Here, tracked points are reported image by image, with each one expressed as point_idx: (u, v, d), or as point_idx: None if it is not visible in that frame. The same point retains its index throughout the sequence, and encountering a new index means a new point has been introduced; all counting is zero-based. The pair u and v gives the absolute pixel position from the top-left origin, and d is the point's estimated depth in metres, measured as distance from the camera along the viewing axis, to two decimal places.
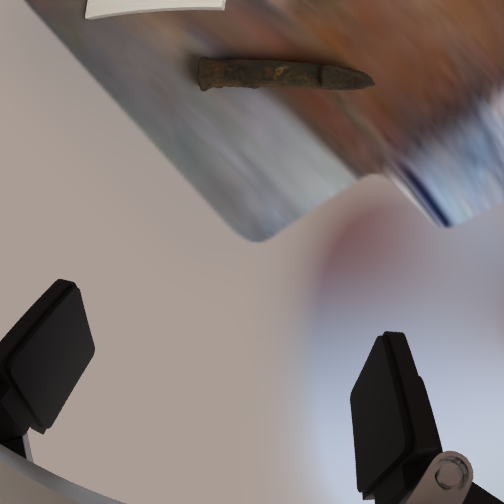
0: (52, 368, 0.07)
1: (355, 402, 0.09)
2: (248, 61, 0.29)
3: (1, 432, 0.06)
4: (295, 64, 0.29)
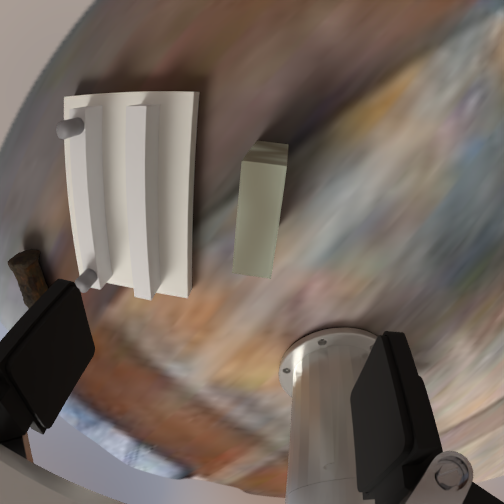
0: (52, 368, 0.07)
1: (355, 402, 0.09)
2: None
3: (1, 432, 0.06)
4: None
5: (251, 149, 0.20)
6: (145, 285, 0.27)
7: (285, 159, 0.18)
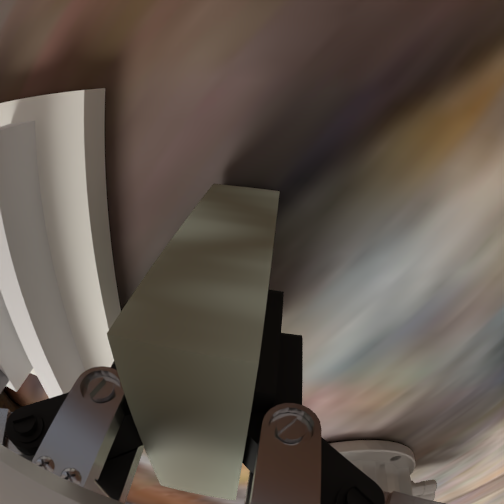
0: None
1: None
2: None
3: (111, 445, 0.06)
4: None
5: (178, 233, 0.08)
6: None
7: (261, 290, 0.06)
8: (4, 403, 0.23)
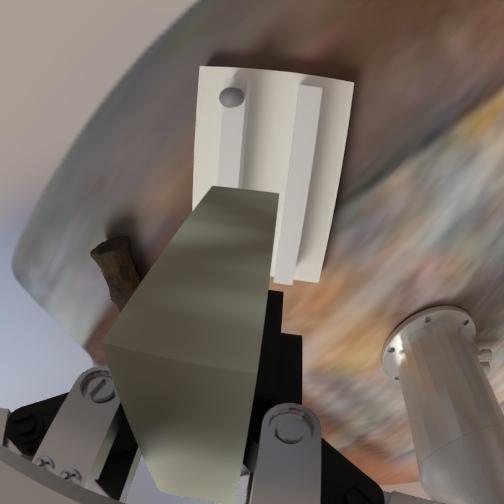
0: None
1: None
2: (130, 294, 0.32)
3: (111, 445, 0.06)
4: None
5: (176, 237, 0.08)
6: (289, 269, 0.27)
7: (261, 296, 0.06)
8: None
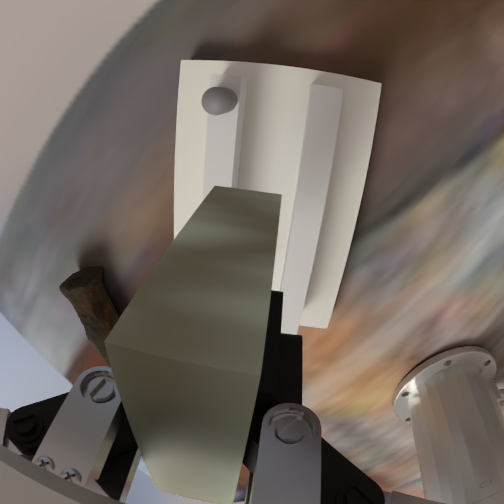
0: None
1: None
2: (108, 333, 0.26)
3: (111, 445, 0.06)
4: None
5: (178, 236, 0.08)
6: (293, 319, 0.21)
7: (264, 298, 0.06)
8: None
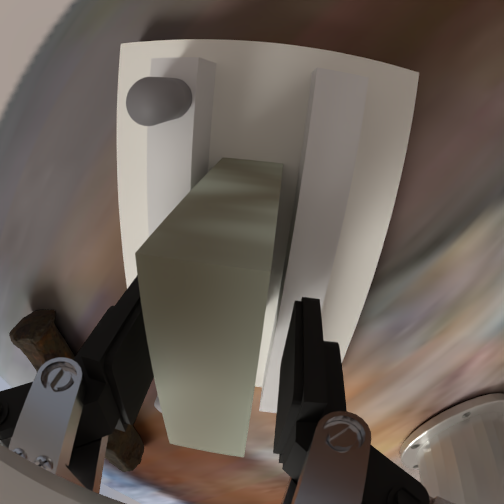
0: (140, 362, 0.08)
1: (281, 368, 0.10)
2: None
3: (77, 435, 0.06)
4: None
5: (194, 189, 0.09)
6: None
7: (270, 226, 0.07)
8: None
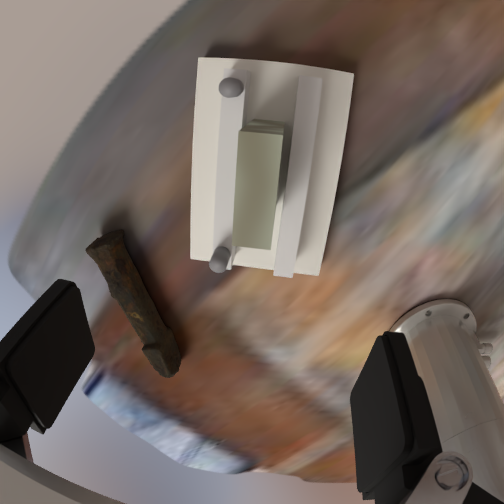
0: (52, 368, 0.07)
1: (355, 402, 0.09)
2: (129, 287, 0.31)
3: (1, 432, 0.06)
4: (148, 324, 0.33)
5: (248, 124, 0.20)
6: (290, 262, 0.27)
7: (281, 131, 0.18)
8: (157, 319, 0.35)
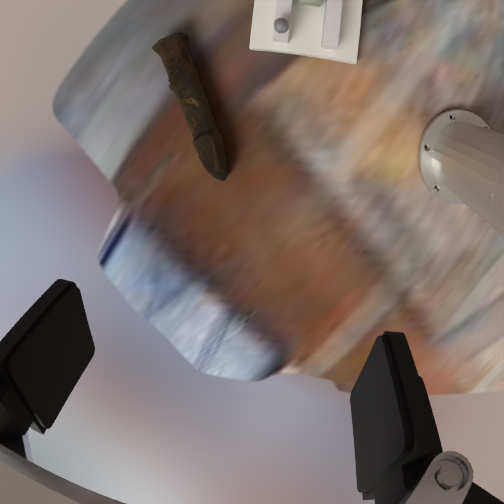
0: (52, 368, 0.07)
1: (355, 402, 0.09)
2: (190, 72, 0.32)
3: (1, 432, 0.06)
4: (203, 110, 0.34)
5: None
6: (335, 34, 0.27)
7: None
8: (210, 113, 0.35)
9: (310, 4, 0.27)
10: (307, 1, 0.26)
